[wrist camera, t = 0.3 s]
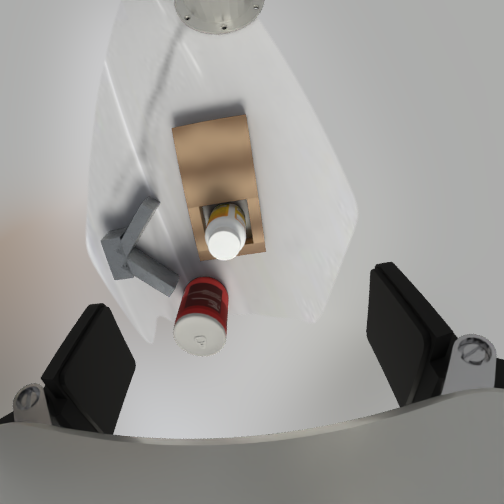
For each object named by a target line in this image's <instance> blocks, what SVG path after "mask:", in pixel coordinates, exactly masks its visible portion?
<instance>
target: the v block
mask: <svg viewBox="0 0 504 504" xmlns="http://www.w3.org/2000/svg"><path fill="white" fill-rule="evenodd" d="M159 204H160V202H158V201H157V200H155V199H154V198H152V197H150V196H149V197H148V198H147V199H146V200H145V201H144V202H143V203H141V205H140V207H139V209H138V210H137V212H136V214H135V216H134V218H133V219H132V221H131V223H130V225H129V227H128V228H122V229H117V230H112V231H110V232H109V233H108V234H107V235H106V236H105V237H104V238H103V239H102V240H101V244H102V247H103V250H104V252H105V255H106V258H107V261H108V264H109V266H110V269H111V272H112V274H113V277H114V280H120V279H127V278H133V277H134V276H136V277H137V278H139V279H141V280H142V281H144V282H145V283H147V284H149V285H150V286H152V287H153V288H155V289H157V290H158V291H160V292H162V293H163V294H165V295H167V296H168V297H170V295H171V294H172V293H173V291H174V290H175V288H176V285H177V282H178V279H179V277H180V276H179V275H178V274H176V273H174V272H173V271H171V270H170V269H168V268H166V267H165V266H163V265H162V264H160V263H158V262H157V261H155V260H154V259H152V258H151V257H149V256H147V255H146V254H144V253H143V252H141V251H140V250H138V249H137V248H135V245H136V243H137V241H138V240H139V238H140V236H141V234H142V233H143V231H144V229H145V228H146V226H147V224H148V222H149V221H150V219H151V217H152V216H153V214H154V212H155V211H156V209H157V208H158V206H159Z"/></svg>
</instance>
